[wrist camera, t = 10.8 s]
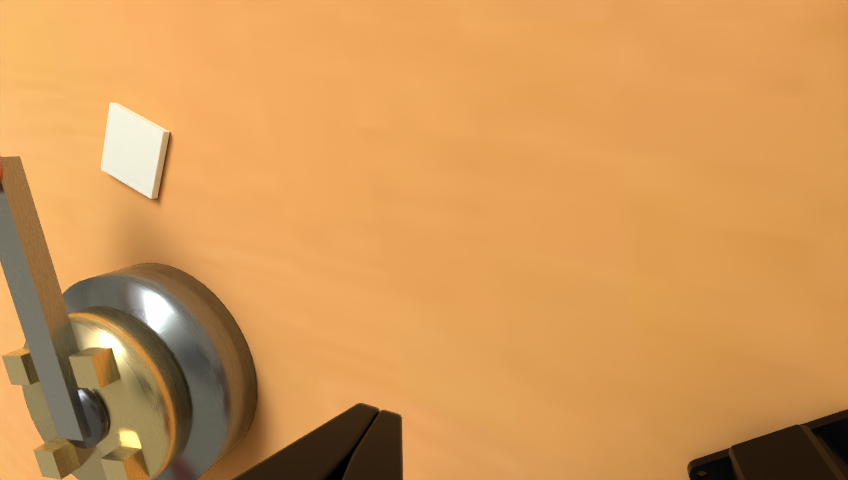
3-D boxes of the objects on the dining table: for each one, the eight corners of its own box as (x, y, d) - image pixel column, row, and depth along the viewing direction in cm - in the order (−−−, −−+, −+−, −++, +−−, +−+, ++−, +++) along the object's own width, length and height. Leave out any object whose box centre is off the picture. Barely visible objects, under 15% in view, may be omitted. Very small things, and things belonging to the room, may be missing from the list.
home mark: (169, 131, 25) (163, 131, 24) (157, 198, 26) (151, 199, 26) (116, 102, 25) (110, 102, 25) (107, 168, 27) (100, 169, 26)
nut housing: (295, 411, 26) (260, 444, 23) (174, 482, 31) (133, 515, 28) (169, 221, 26) (118, 232, 23) (69, 323, 31) (19, 341, 29)
